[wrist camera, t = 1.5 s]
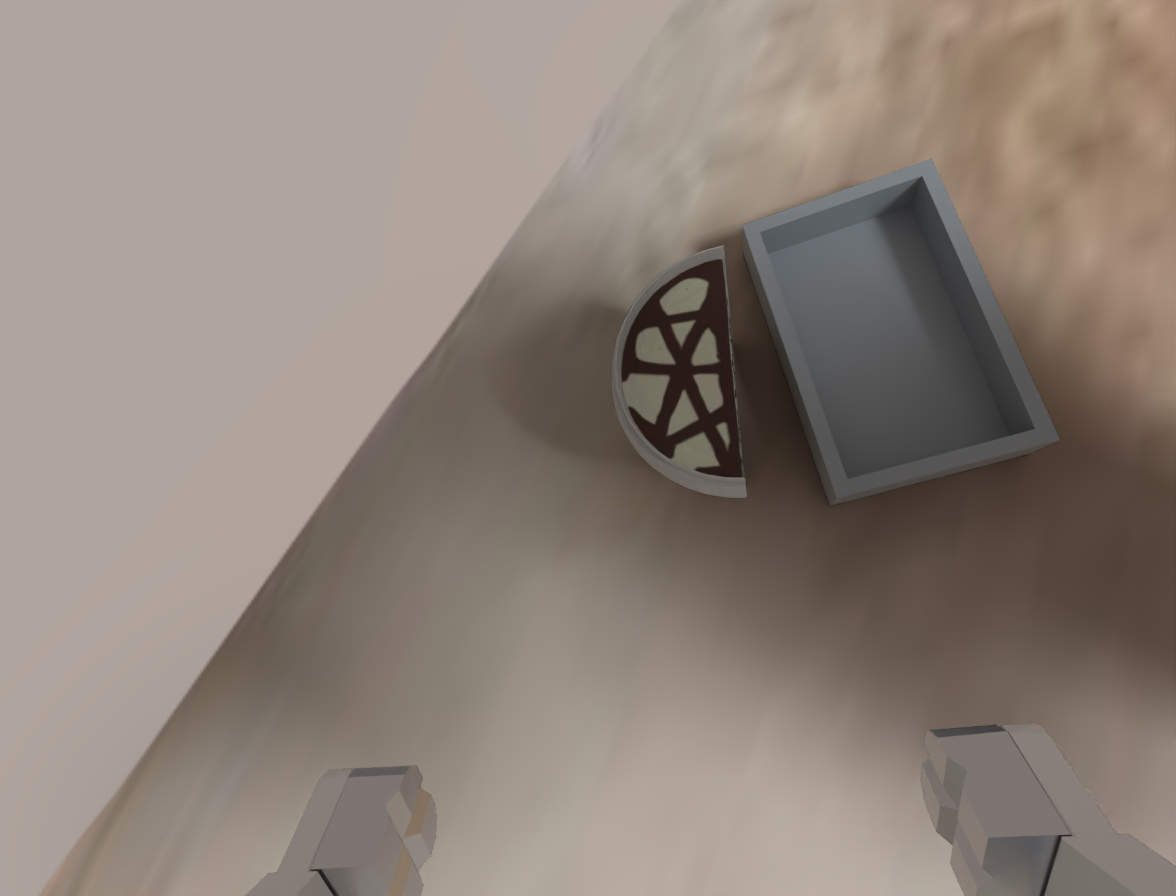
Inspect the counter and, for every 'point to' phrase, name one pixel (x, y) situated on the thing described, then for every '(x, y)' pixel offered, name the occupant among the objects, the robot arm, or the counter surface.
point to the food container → (682, 377)
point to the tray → (891, 337)
